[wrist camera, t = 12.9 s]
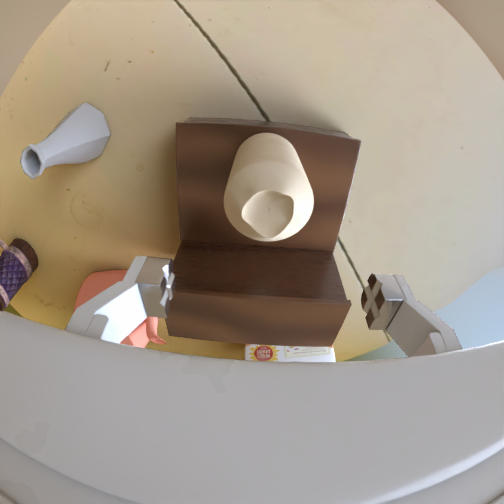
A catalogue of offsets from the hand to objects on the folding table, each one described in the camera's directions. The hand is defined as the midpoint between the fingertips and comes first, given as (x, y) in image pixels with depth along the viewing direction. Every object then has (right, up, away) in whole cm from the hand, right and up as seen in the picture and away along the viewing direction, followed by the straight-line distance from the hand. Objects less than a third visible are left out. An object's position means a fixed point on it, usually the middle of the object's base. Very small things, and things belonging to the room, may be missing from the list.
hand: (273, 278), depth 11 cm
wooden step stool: (0, +7, +20) cm, 21 cm away
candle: (0, +9, +13) cm, 16 cm away
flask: (-20, +15, +15) cm, 29 cm away
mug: (-42, +2, +25) cm, 48 cm away
